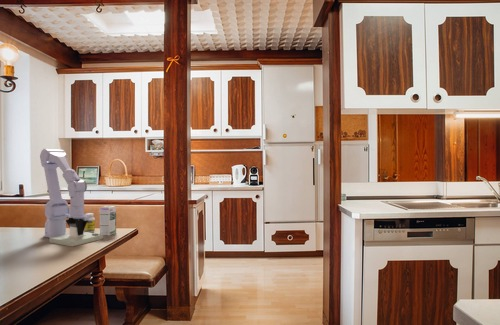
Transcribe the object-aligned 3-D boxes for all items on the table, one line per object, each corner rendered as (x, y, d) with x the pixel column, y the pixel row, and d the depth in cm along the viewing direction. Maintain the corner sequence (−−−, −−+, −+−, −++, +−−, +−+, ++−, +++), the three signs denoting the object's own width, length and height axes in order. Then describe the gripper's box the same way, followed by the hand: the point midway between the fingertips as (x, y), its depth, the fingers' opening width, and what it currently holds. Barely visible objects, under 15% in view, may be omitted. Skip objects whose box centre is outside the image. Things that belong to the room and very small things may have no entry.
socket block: (49, 242, 146) (49, 236, 146) (80, 235, 161) (81, 230, 161) (72, 246, 139) (72, 240, 139) (102, 238, 154) (103, 233, 154)
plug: (69, 238, 149) (69, 224, 149) (78, 236, 153) (78, 222, 153) (75, 239, 147) (75, 224, 147) (84, 237, 151) (84, 223, 151)
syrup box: (109, 235, 160) (109, 207, 160) (99, 235, 162) (99, 206, 162) (116, 233, 166) (116, 205, 166) (106, 232, 167) (106, 205, 167)
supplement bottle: (87, 233, 165) (87, 214, 165) (81, 232, 168) (81, 213, 168) (96, 231, 169) (97, 213, 169) (91, 230, 172) (91, 212, 172)
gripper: (59, 205, 150) (59, 234, 150) (79, 207, 143) (79, 237, 143) (73, 204, 156) (72, 231, 156) (93, 206, 150) (93, 234, 150)
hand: (76, 234), depth 150 cm, fingers closed on plug, 4 cm apart
